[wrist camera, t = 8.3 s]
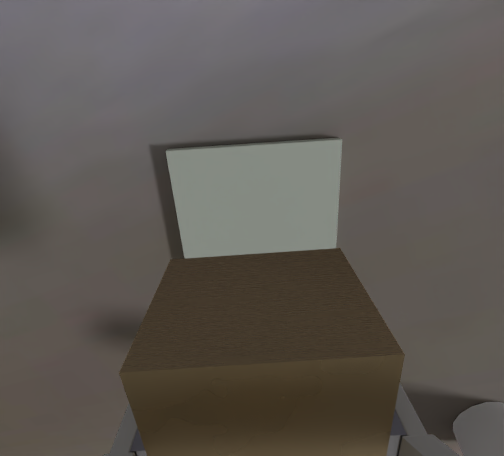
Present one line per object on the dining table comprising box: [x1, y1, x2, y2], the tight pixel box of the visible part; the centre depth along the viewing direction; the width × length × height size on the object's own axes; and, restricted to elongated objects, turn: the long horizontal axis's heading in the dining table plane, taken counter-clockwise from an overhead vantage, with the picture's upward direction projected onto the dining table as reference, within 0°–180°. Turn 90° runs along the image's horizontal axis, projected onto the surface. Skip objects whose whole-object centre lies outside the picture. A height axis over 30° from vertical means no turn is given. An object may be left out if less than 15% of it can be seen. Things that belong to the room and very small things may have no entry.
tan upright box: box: [119, 248, 405, 456], centre depth 9 cm, size 9×5×4 cm, turn 4°
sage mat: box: [166, 138, 342, 258], centre depth 22 cm, size 11×11×1 cm
